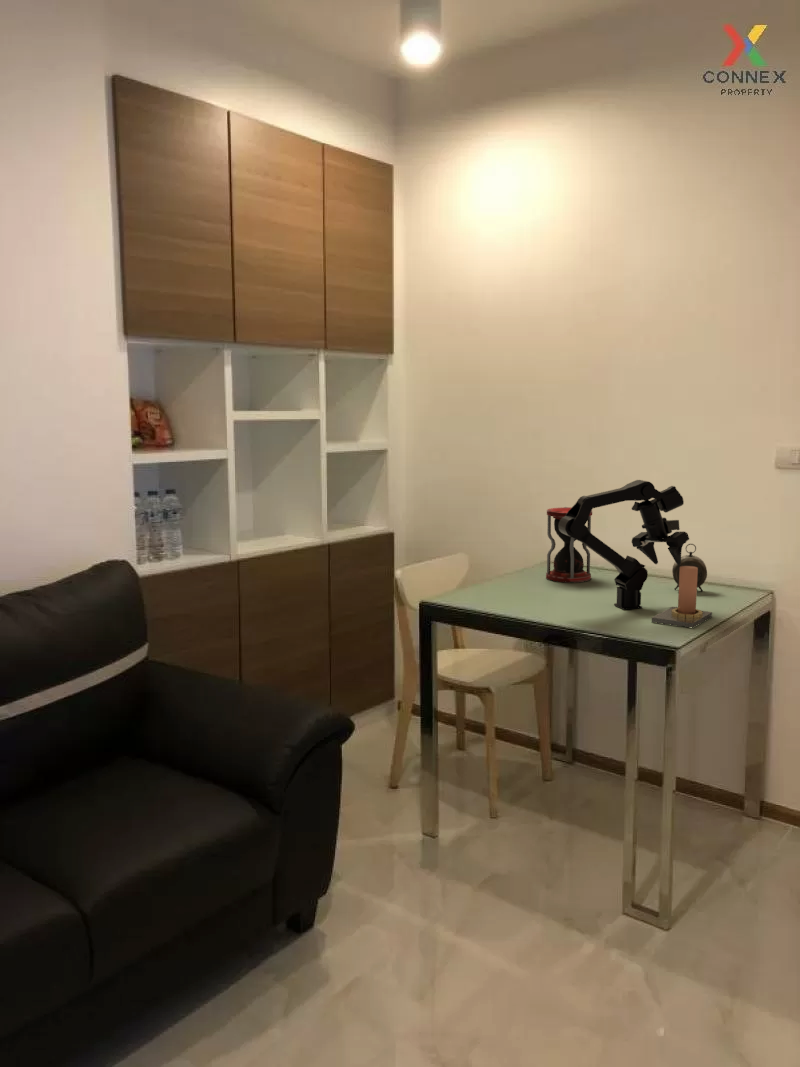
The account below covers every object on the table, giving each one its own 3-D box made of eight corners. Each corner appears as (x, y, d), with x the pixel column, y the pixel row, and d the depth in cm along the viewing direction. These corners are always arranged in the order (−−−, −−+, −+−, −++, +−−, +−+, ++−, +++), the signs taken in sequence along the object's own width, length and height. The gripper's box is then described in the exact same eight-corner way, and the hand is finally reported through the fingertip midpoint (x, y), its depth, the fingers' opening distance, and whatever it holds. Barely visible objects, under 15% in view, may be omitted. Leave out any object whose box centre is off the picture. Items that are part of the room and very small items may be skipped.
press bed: (692, 628, 249) (692, 619, 248) (651, 622, 256) (651, 614, 256) (711, 617, 261) (712, 608, 261) (672, 611, 269) (672, 603, 268)
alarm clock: (705, 590, 297) (707, 542, 294) (706, 593, 291) (708, 545, 289) (671, 589, 299) (673, 541, 297) (672, 592, 294) (673, 544, 292)
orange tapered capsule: (677, 615, 257) (679, 568, 255) (677, 611, 262) (679, 565, 260) (695, 617, 256) (697, 569, 253) (695, 613, 260) (697, 566, 258)
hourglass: (542, 574, 327) (543, 507, 324) (586, 573, 327) (587, 506, 323) (549, 583, 311) (550, 513, 308) (595, 582, 311) (596, 512, 307)
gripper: (692, 506, 268) (707, 553, 271) (646, 508, 284) (661, 552, 287) (669, 522, 263) (685, 569, 266) (623, 523, 279) (639, 567, 282)
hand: (667, 564), depth 275 cm, fingers open, 9 cm apart
